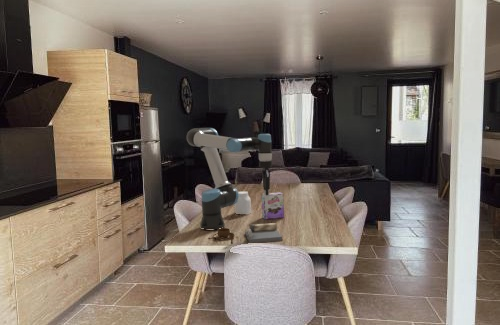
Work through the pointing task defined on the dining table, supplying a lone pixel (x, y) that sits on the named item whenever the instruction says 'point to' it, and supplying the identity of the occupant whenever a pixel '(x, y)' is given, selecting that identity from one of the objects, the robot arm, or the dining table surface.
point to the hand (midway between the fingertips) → (266, 200)
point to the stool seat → (263, 235)
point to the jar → (243, 204)
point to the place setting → (225, 234)
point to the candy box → (273, 206)
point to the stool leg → (263, 227)
